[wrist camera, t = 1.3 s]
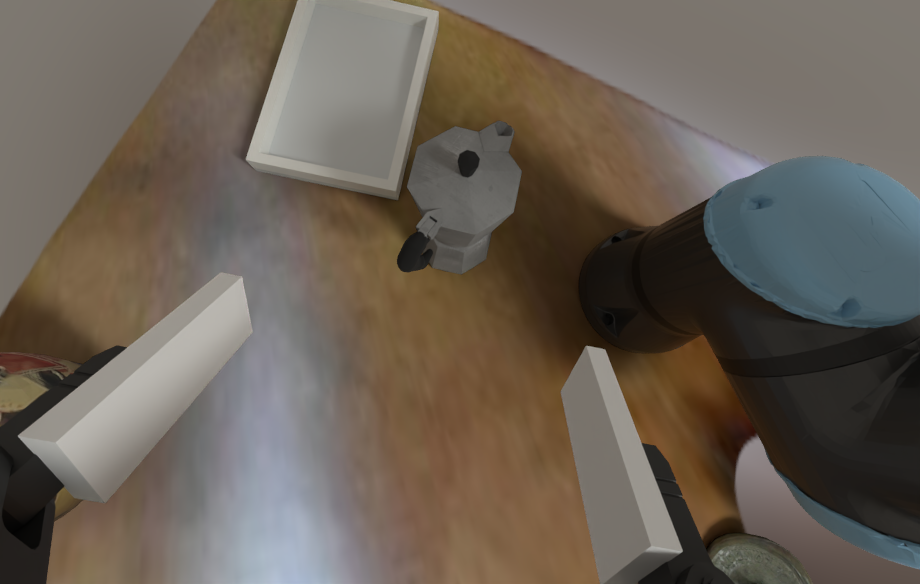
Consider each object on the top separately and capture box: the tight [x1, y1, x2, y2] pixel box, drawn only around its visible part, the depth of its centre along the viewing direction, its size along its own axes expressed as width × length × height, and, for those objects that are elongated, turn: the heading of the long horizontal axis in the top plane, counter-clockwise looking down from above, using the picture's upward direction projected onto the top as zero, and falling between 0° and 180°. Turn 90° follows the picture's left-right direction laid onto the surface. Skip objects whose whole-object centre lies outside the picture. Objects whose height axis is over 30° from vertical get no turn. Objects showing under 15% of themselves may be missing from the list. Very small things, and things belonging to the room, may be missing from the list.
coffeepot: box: [397, 121, 522, 274], centre depth 34 cm, size 15×9×18 cm, turn 145°
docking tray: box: [246, 0, 439, 200], centre depth 44 cm, size 17×25×2 cm
